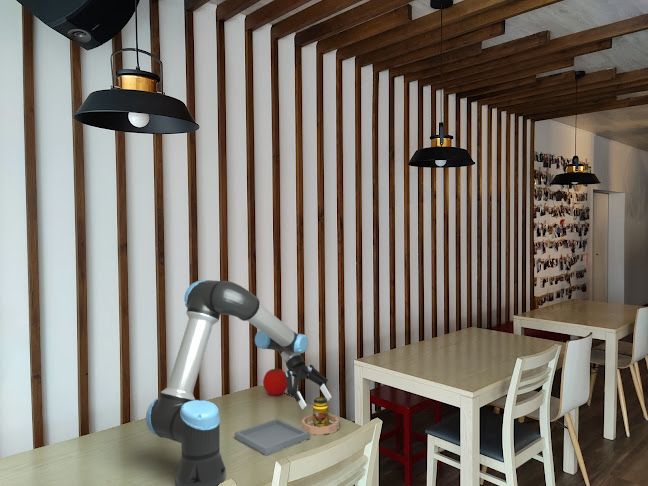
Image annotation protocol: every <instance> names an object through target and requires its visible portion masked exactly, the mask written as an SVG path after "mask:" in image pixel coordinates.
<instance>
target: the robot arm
mask: <svg viewBox="0 0 648 486" xmlns="http://www.w3.org/2000/svg"><path fill="white" fill-rule="evenodd" d="M183 299H184V305H185V307H186V308H187V309H186V312H185V313H186V316H187V317H188V321H187V323H186V324H187V325H186V327H185V331H184V334H183V336H182V340H181V344H180V345H179V349H178V352H177V356H176V357H175V361H174V365H173V369H172V370H171V375H170V377H169V380H168V383H167V387H166V388H164V389H163V390H161V392H160V394H159V397H158V398H156V399H154V400H153V402H150V405H149V406H148V408H147V410H146V414H145V423H146V427H147V428H148V431H149V432H151V433H152V434H154V435H156V436H157V437H159V438H161V439H162V438H164V439H167V440H171V441H174V442H177V443H180V444H181V447H180V448H181V458H180V462H179V466H178V469H177V473H176V478H175V481H176V486H217V485H218V484H220V483H221V482H222V483H224V481H225V480H226V478H227V472H226V471H227V470H226V465H225V463H224V460H223V458H222V454H221V451H220V450H221V449H220V445H221V444H220V441H221V440H220V436H221V435H220V434H221V433H220V428H221V427H220V419H221V418H220V412H219V408H218V406H217V405H216V404H215V403H213V402H211V401H208V400H205V399H204V400H199V399H196V398H195V396H194V394H193V393H194V389H195V387H196V383H197V379H198V376H199V373H200V370H201V367H202V362H203V360H204V357H205V352H206V349H207V347H208V342H209V339H210V337H211V333H212V329H213V326H214V325H215V324H217V323H218V322H219V321H220V318H221V315H227V316H232V317H236V318H238V319H239V320H241V321H243V322H245V321H247V322H248V323H250V324H251V325H252V326H253V327H255V328H256V329H258V331H257V332H256V334H255V337H254V344H255V346H256V347H257V348H258V349H263V350H272V351H278V353H279V355H280V356H281V359H282V361H283V362H284V364H285V366H286V368H287V370H286V372H285V376H286V380H287V388H286V391H287V392H286V393H287V395H288V396H290V397H293V398H294V400H295V401H296V402H297V403H298V404H299V407H300V408H301V410H302V411H304V410H305V409H306V407H307V406H308V405H307V403H306V401H305V400H304V398H303V396H302V394H301V392H300V391H298V387H299V382H300V381H302V380H304V379H305V380H310V381H311V382H313V383H315V384H316V385H318V386H319V389H320V391H321V392H322V394H323V397H325V398H327V402H328V401H330V400H331V399H332V398H333V397H332V395H331V393H330V392H329V391H330V389H329V388H328V386H327V385H326V383H328V379H327V378H326V377H325V376H324V375H323V374H321V373H320V372H319V371H318V369H316V368H315V366H314V365H312V364H310V365H308V366H307V365H306V362H305V360H304V358H303V356H302V355H301V354H303V353H304V354H305V352H306V351H307V350H308V346H309V339H308V337H307V335H305V334H303V333H297V332H295V331H294V330H293V329H291V327H290V326H288V325H286V324H285V323H284V322H283V321H282V320H280V319H279V318H278V317H277V316H276V315H274V314H273V313H272V312H270V311H269V310H268V309H267V308H266V307H264V306H263V305H262V304H261V301H260V299H259V298H258V297H257V296H256V295H254V294H253V293H252V292H251V291H249V290H248V289H246V288H245V287H244V286H241V285H240V284H237V283H235V282H233V281H229V280H228V281H227V280H224V281H223V280H210V279H204V280H197V281H195V282H193V283H191V284H190V285H189V286H188V287H187V289H186V291H185V294H184V298H183ZM292 377H293V378H292ZM222 483H221V484H222ZM221 484H220V485H221ZM218 486H219V485H218Z"/></svg>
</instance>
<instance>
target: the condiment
mask: <svg viewBox="0 0 648 486" xmlns="http://www.w3.org/2000/svg"><path fill="white" fill-rule="evenodd" d="M312 413H313V423H312V425H314V426H317V427H322V426H329V425H330V423H329V416H328V414H329V405H328V401H327V398H325V396H317V397H315V398H314V399H313V406H312Z"/></svg>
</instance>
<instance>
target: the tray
mask: <svg viewBox="0 0 648 486" xmlns="http://www.w3.org/2000/svg"><path fill="white" fill-rule="evenodd" d="M309 438H310V434H309V432H307V431H305V430H303V429H302V428H300V427H298V426H295V425H294V424H291V423H288V422H286V421H284V420H281V419H279V418H274V419H271V420H268V421H265V422H263V423H262V422H261V423H259V424H256V425H253V426H250V427H247V428H245V429H241V430H238V431H235V432H234V439H235V440H236V441H238V442H239V443H240V444H243V445H245V446H247V448H248V447H249V448H250V449H252V450H254V451H256V452H257V451H258V452H257V453H259V452H260V453H259V454H261V455H263V456H265V457H267V455H268V456H271V455H273V454H275V453H278V452H280V451H282V449H283V450H285V449H287V447H288V448H290V446H291V447H293V446H295V444H296V445H297V443H298V444H300V443H299V442H301V443H303V442H305V441H304V440H306V441H308V440H307V439H309ZM309 440H310V439H309ZM302 441H303V442H302ZM292 445H293V446H292ZM284 448H285V449H284Z"/></svg>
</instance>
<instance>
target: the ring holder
mask: <svg viewBox="0 0 648 486" xmlns="http://www.w3.org/2000/svg"><path fill="white" fill-rule="evenodd" d="M328 416H329V420H331V421H333V422H335V423H334V424H329V426H322V427H317V426H310V425H311V424H307V423H308V422H311V421H313V414H310V415H307V416H305V417H303V418H302V420H301V429H302V428H303V430H305V431H307V432H309V433H312V434H324V433H330V432H331V431H334V430H336V429H337V428H338V427H339V428H340V419H339V418H338V417H337V416H336V415H334V414H331V413H328Z"/></svg>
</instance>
